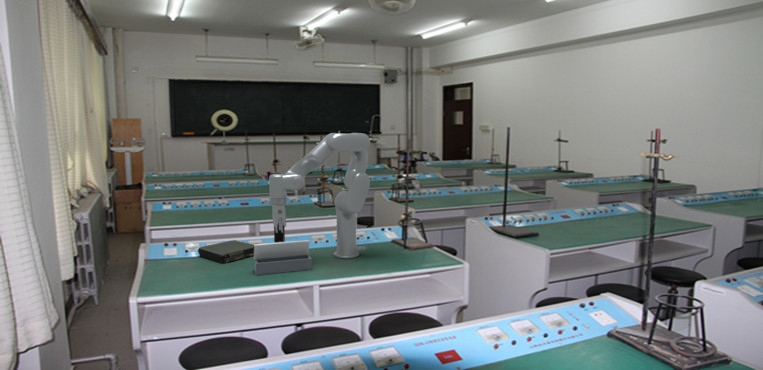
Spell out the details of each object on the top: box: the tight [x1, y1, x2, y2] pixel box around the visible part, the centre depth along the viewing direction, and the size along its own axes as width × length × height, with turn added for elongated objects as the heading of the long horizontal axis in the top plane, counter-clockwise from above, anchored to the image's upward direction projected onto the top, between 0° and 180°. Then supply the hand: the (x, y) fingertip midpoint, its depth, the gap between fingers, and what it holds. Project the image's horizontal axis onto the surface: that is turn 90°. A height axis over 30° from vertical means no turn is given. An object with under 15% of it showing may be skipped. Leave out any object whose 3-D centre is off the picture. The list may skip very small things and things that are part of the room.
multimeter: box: [273, 224, 286, 243], centre depth 243 cm, size 15×10×20 cm
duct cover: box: [253, 239, 311, 260], centre depth 212 cm, size 24×9×1 cm
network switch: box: [198, 239, 254, 264], centre depth 233 cm, size 23×23×5 cm
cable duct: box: [253, 253, 313, 276], centre depth 210 cm, size 24×7×5 cm, turn 111°
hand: (279, 240), depth 219 cm, fingers closed
